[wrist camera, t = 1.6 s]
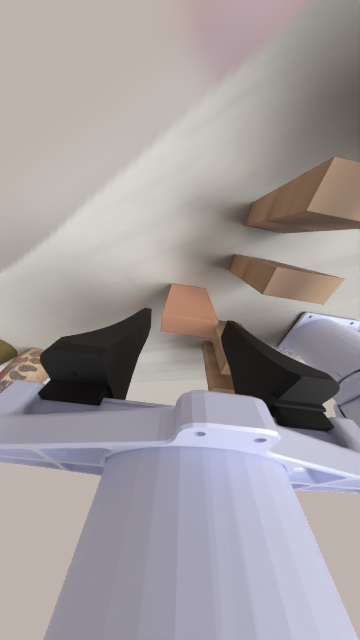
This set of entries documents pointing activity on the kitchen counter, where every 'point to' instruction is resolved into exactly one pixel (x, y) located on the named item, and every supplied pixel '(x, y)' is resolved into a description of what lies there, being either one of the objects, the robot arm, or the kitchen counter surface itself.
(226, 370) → the domino
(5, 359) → the cork
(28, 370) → the figurine
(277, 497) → the robot arm
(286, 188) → the domino
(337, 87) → the kitchen counter surface
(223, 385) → the domino
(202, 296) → the domino
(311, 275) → the domino
